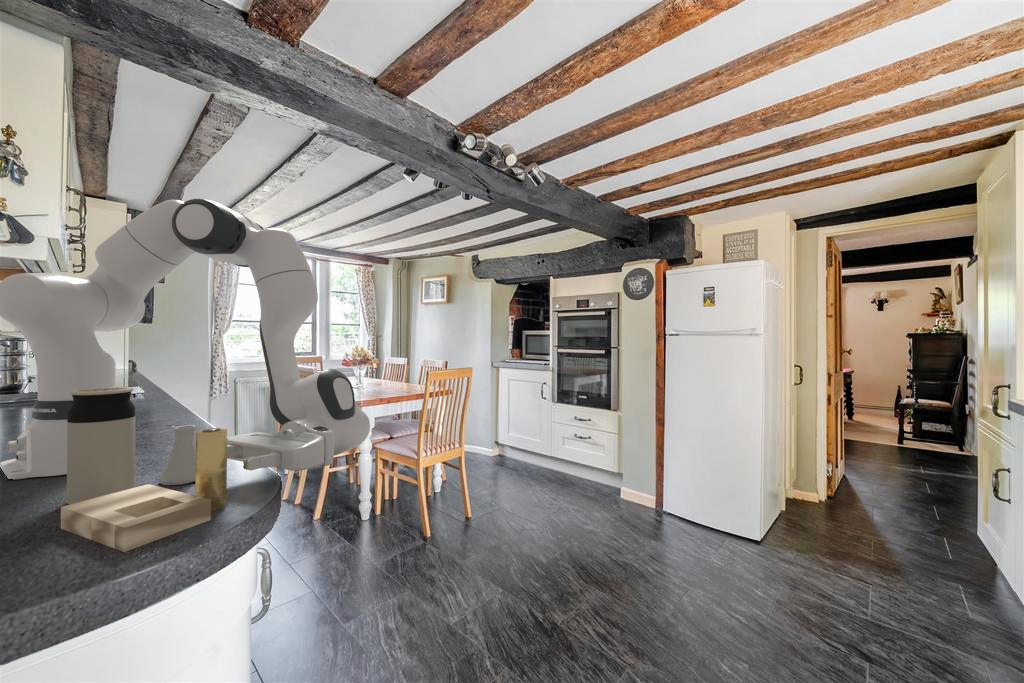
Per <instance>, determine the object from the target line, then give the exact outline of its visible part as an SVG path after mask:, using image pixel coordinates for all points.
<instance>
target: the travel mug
mask: <svg viewBox="0 0 1024 683" xmlns="http://www.w3.org/2000/svg"><path fill="white" fill-rule="evenodd" d="M133 391H134V387H129V386H118V387H117V386H115V387H106V388H90V389H80V390H73V391H71V392H70V394H71V395H72V397H73V401H74V404H73V405H72V406H71V408H70V409H69V411H68V412H67V474H66V504H67V505H70V504H74V503H78V502H81V501H85V500H89V499H93V498H97V497H101V496H104V495H108V494H112V493H116V492H120V491H123V490H127V489H131V488H135V487H136V486H135V485H136V480H135V479H136V468H135V467H136V405H135V404H134V403H133V401H132V399H131V396H132V392H133Z"/></svg>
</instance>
